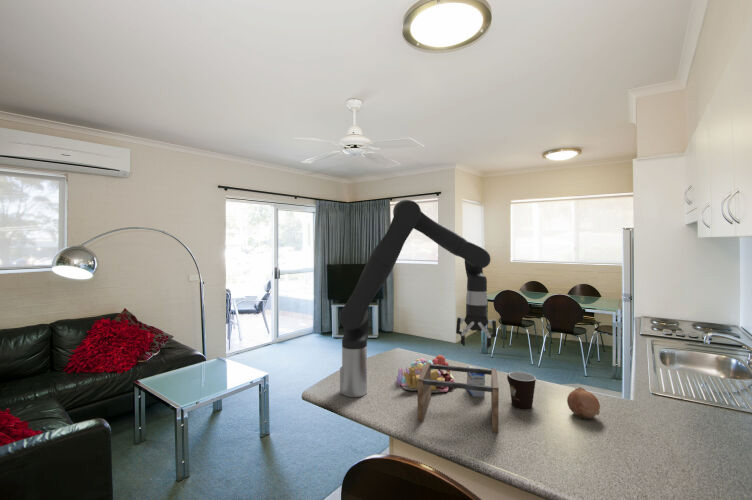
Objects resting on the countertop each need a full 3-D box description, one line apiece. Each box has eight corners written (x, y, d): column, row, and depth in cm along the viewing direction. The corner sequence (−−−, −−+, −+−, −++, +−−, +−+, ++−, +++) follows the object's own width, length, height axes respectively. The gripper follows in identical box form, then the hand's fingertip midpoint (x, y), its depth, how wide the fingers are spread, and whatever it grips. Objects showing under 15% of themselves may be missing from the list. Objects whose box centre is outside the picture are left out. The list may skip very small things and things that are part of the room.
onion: (576, 419, 116) (571, 388, 120) (606, 421, 110) (601, 388, 114) (564, 417, 111) (560, 385, 115) (596, 419, 104) (590, 385, 109)
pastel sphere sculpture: (462, 395, 129) (462, 370, 129) (398, 395, 129) (398, 370, 129) (449, 371, 154) (449, 350, 154) (395, 371, 154) (395, 350, 154)
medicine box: (466, 388, 134) (466, 366, 134) (478, 388, 134) (478, 365, 134) (472, 397, 126) (472, 373, 126) (485, 397, 126) (485, 373, 126)
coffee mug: (538, 412, 115) (538, 382, 115) (510, 410, 116) (510, 379, 116) (530, 397, 126) (530, 369, 126) (505, 395, 128) (505, 368, 128)
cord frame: (417, 421, 109) (417, 379, 109) (426, 398, 125) (426, 362, 125) (498, 432, 102) (498, 388, 102) (496, 407, 118) (496, 368, 118)
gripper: (456, 303, 129) (455, 347, 129) (497, 305, 125) (496, 351, 125) (457, 300, 136) (456, 342, 136) (496, 302, 132) (495, 345, 132)
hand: (475, 346), depth 130 cm, fingers open, 8 cm apart
